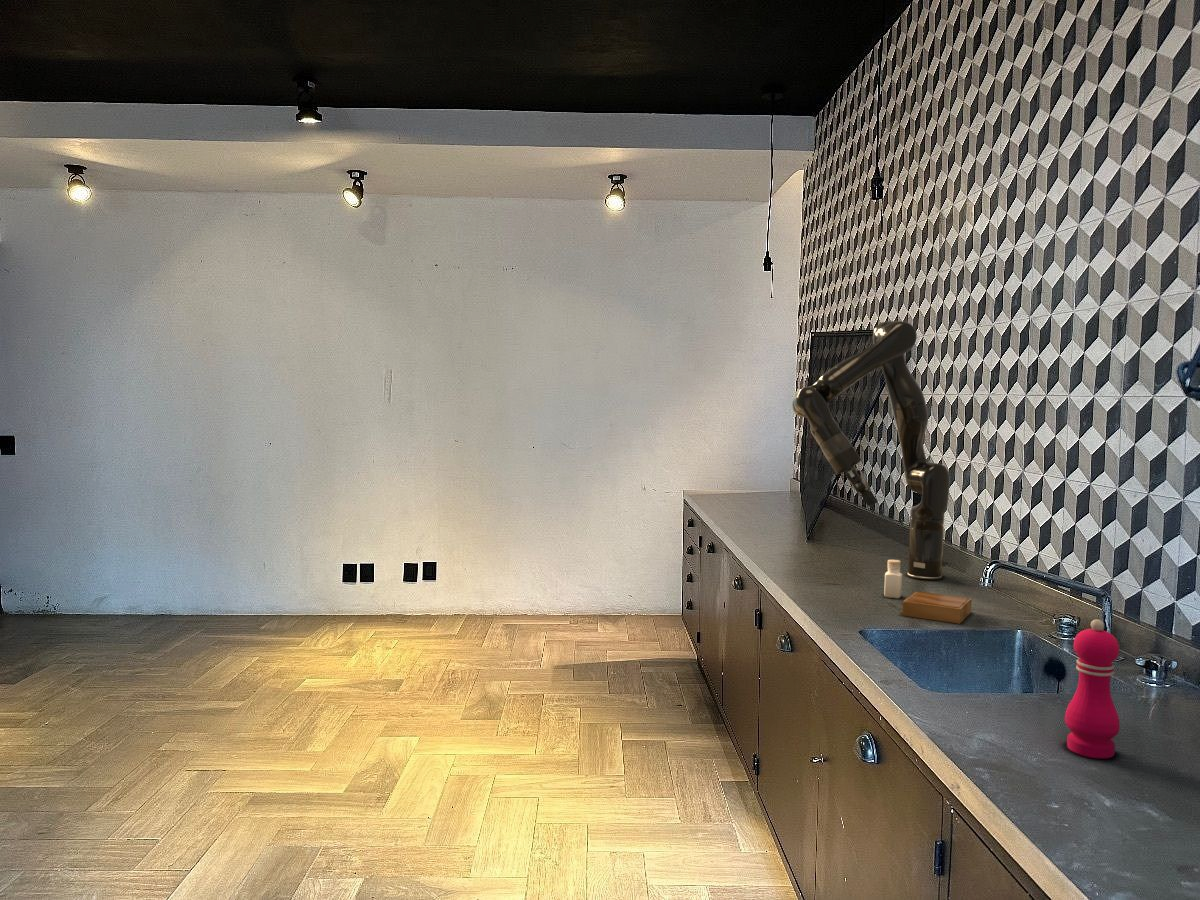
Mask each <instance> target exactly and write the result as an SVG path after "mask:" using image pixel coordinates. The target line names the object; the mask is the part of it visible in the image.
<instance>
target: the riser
mask: <svg viewBox="0 0 1200 900" xmlns="http://www.w3.org/2000/svg"><path fill="white" fill-rule="evenodd" d="M971 613H972V598H971V597H964V596H956V595H949V594H943V593H942V594H941V593H933V592H925V591H915V592H914V593H912V594H911V595H910V596H908V597H907V598H905V599H904V600H903V601H902V616H904V617H910V618H916V619H917V618H918V619H924V620H931V621H937V622H944V623H950V624H958V625H960V624H962V622H963V621H964V620H965V619H966V618H968V616H969V615H970V614H971Z"/></svg>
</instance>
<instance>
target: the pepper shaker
mask: <svg viewBox="0 0 1200 900" xmlns="http://www.w3.org/2000/svg"><path fill="white" fill-rule="evenodd" d="M901 564H902V561H901V560H899V559H887V571H886V572H885V573H884V588H883V589H884V590H883V595H884V597H885V598H887V599H900V598H901V596H902V594H903V573H902V572H901Z"/></svg>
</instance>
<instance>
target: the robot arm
mask: <svg viewBox="0 0 1200 900" xmlns="http://www.w3.org/2000/svg"><path fill="white" fill-rule="evenodd" d="M872 333H873V334H872V345H871V346H869V347H867V348H866V349H864V350H862V351H860V352H859V353H856V354H855V355H852V356H850V357H848V358H845V359H844V360H842V361H840V362H839V363H837V364H836V365H834V366H833V367H832V368H830V369H829V370H827V371H826V372H825V373H823V374H822V375H821V376H820V377H819V378H818V380H817V381H815V382H814V383H813V384H812V385H810V386H805V387H802V388H801V389H800V390H799V391H798V392H797V393H796V395H795V397H794V398H793V400H792V404H791V406H792V411H793V413H794V414H795V415H796V416H797V417H800V418H806V420H807V421H808V423H809V425H810V426H809V427H810V428H809V429H810V433H811V434H812V436H813V438H814V440H815V441H816V443H817V444H818V446H819V447H820V449H821V451H822V453H823V455H824V457H825V458H826V460H827V462H828V463H829V464H830V466H831V468H832V469H833V471H834V472H835V474H836V475H841V474H842V473H844V472H845V476H846V479H847V481H848V482H849V484H851V486H852V488H853V489H854V490H855V492H856V493H857V494H858V495H860V496H861V498H862V500H863V501H864V503H865V504H866V506H867V507H871V506H874V505H875V504H877V503H878V499H877V498H876V497H875V496H876V495H875V494H874V493H873V492H872V490H871V487H870V485H869V482H868V480H867V479H866V477H865V475H864V473H863V471H862V470H861V469H857V467H856V465H858V464H859V463H860V462H861V461H862V458H861V456H860V455H859V454H858V452H857V451H856V449H855V448H854V446H853V444H852V443H851V441H850V440H849V438H848V437H847V436H846V435H845V434H844V432H843V431H842V430H841V428H840V426H839V425H838V423H837V421H835V419H834V418H833V415H832V412H831V410H830V408H829V406H828V403H830V401H831V400H833V399H834V398H836V397H838V396H839V395H841V394H842V393H843V392H845V391H846V390H848V389H849V388H851V387H852V386H854V384H856V383H857V382H858V381H860V380H861V379H862V378H864V377H866V376H867V375H868V374H870V373H872V372H873V371H875V370H876V369H878V368H880V367H881V371H882V373H883V377H884V381H885V385H886V389H887V393H888V397H889V401H890V407H891V411H892V415H893V419H894V423H895V426H896V431H897V436H898V441H899V444H900V450H901V455H902V456H901V457H902V463H903V470H904V471H903V472H904V477H905V482H906V484H907V487H908V488H909V489H910V490H911V491H912V492H914V493H916V494H921V500H920V503H918V504H917V505H913V506H912V507H911V508H910V511H909V535H908V536H909V537H908V559H907V575H906V576H908V577H909V578H913V579H918V580H926V581H927V580H928V581H935V580H941V579H942V578H943V575H942V574H943V553H944V552H943V551H944V533H945V530H944V529H945V514H946V511H947V509H948V507H949V506H948V505H949V497H950V496H949V495H950V485H951V478H950V477H951V476H950V473H949V470H948V468H947V467H946V466H945V465H943V464H941V463H937V462H930V461H928V460H927V457H926V454H925V449H924V438H925V434H926V431H927V428H928V424H929V411H928V407H927V402H926V399H925V395H924V393H923V390H922V389H921V387H920V385H919V384H918V382H917V381H916V379H915V377H914V376H913V375H912V373H911V371H910V370H909V368H908V365H907V362H906V358H905V354H906V353H908V352H909V351H911V350H912V349H913V347H914V346H915V344H916V342H917V336H918V334H917V330H916V328H915V327H914V326H913V324H911V323H909V322H907V321H900V320H889V321H882V322H880V323H878V324H877V325H876V326H875V327H874V330H873V332H872Z"/></svg>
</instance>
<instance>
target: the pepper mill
mask: <svg viewBox="0 0 1200 900" xmlns="http://www.w3.org/2000/svg"><path fill="white" fill-rule="evenodd" d="M1104 629H1105V623H1104V622H1103V621H1102V620H1101V619H1098V618H1096V619H1093V620H1091V622H1090V628H1087V629H1083V630H1081V631H1080V632H1078V633H1077V634H1076V636H1075V638H1074V640H1073V650H1074V653H1075V654H1076V656H1077V657H1078V659H1076V666H1075V669H1076V670H1077V671H1078V683H1077V687H1076V690H1075V693H1074V695H1073V697H1072V698H1071V700H1070V702H1069V703H1068V705H1067V707H1066V710H1065V716H1064V722H1065V725H1066V727H1067V728H1068V729H1069V730H1070V733H1068V734H1067V738H1066V739H1067V740H1066V741H1067V742H1066V747H1067V748H1068V750H1069V751H1071V752H1072V753H1074V754H1077V755H1079V756H1083V757H1086V758H1090V759H1096V760H1097V759H1099V760H1100V759H1102V760H1104V759H1110V758H1113V757H1114V756H1115V753H1116V750H1115V749H1116V743H1115V741H1114V740H1113V738H1115V737H1116V736H1117V735H1118V734H1119V732H1120V729H1121V728H1120V718H1119V713H1118V710H1117V709H1116V706H1115V703H1114V700H1113V698H1112V693H1111V677H1112V676H1113V675H1115V671H1114V670H1115V667H1116V665H1115V664H1114V663H1113V662H1115V660H1117V659H1118V658H1119V655H1120V644H1119V642H1118V640H1117V637H1115V635H1113V634H1112V633H1110V632H1109V631H1106V630H1104Z"/></svg>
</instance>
